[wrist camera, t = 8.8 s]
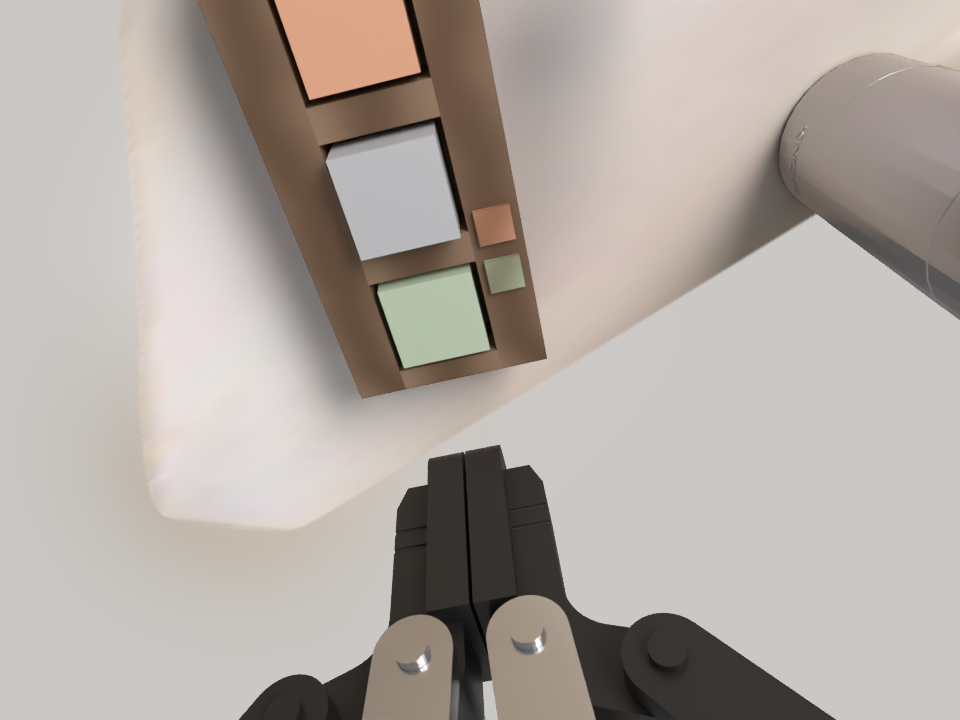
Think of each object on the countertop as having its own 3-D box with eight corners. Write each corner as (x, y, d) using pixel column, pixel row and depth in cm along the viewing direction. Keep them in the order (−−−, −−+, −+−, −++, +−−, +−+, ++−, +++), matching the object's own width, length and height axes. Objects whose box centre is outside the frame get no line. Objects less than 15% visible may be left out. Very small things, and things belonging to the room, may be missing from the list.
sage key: (467, 249, 38) (470, 271, 36) (486, 324, 41) (490, 349, 39) (380, 269, 38) (377, 292, 36) (405, 342, 42) (403, 368, 39)
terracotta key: (390, -65, 29) (386, -64, 27) (421, 60, 32) (420, 72, 30) (277, -35, 29) (263, -32, 27) (318, 86, 33) (309, 99, 30)
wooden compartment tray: (449, -128, 30) (453, -138, 25) (534, 314, 44) (547, 361, 40) (209, -64, 31) (170, -61, 26) (368, 351, 45) (361, 401, 40)
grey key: (434, 118, 33) (434, 134, 30) (458, 216, 36) (460, 237, 33) (333, 143, 33) (325, 161, 31) (365, 237, 36) (361, 260, 34)
